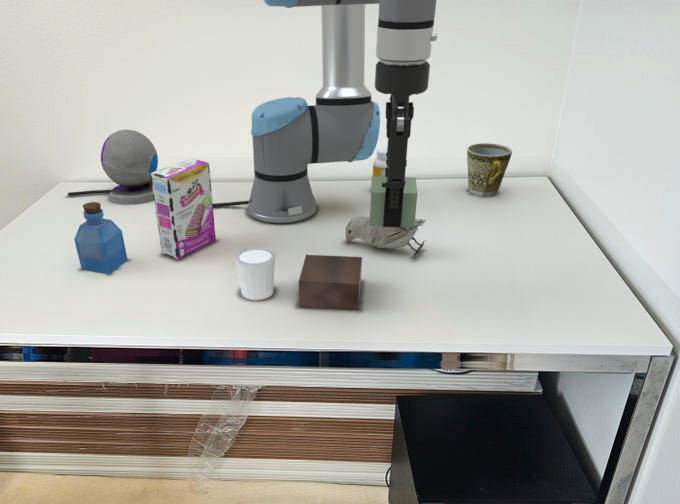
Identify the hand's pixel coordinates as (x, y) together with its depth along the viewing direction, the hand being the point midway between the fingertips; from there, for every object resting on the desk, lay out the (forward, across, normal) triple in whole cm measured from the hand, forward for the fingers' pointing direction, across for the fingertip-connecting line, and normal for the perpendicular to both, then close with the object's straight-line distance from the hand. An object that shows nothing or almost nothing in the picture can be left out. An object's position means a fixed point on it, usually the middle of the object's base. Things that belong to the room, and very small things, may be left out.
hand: (391, 216), depth 99 cm
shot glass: (+15, -1, +23) cm, 27 cm away
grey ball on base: (+15, +45, +60) cm, 77 cm away
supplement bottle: (+15, +51, +1) cm, 53 cm away
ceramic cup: (+15, +51, -24) cm, 58 cm away
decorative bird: (+15, +18, 0) cm, 24 cm away
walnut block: (+14, -1, +10) cm, 17 cm away
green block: (0, 0, 0) cm, 0 cm away
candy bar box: (+15, +16, +39) cm, 45 cm away
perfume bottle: (+15, +7, +54) cm, 56 cm away
